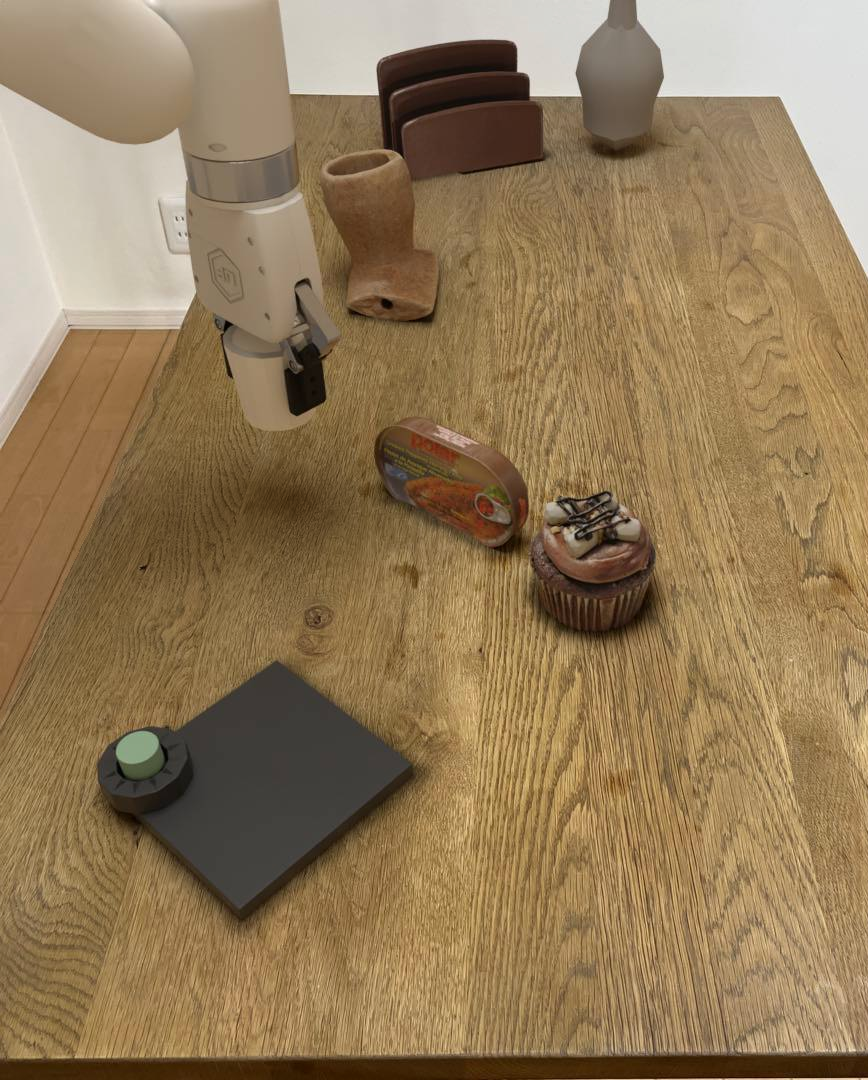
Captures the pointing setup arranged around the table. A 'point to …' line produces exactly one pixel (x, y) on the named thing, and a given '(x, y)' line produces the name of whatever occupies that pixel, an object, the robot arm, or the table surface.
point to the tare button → (140, 755)
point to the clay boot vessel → (380, 235)
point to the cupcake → (592, 562)
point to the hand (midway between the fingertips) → (276, 388)
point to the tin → (452, 478)
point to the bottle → (619, 78)
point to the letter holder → (458, 108)
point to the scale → (257, 785)
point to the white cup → (262, 379)
